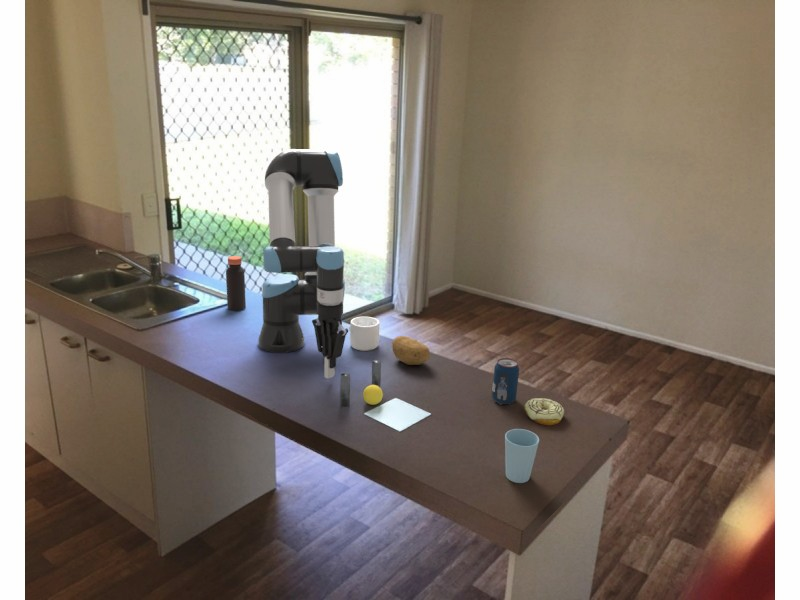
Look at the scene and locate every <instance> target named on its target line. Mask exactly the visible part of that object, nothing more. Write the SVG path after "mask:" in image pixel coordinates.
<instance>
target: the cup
mask: <svg viewBox="0 0 800 600" xmlns="http://www.w3.org/2000/svg"><path fill="white" fill-rule="evenodd" d="M539 444H540V438H539V436H538V435H537V434H536V433H534V432H533V431H531V430H528V429H523V428H513V429H510V430H508V431H506V433H505V434H504V445H505V446H504V447H505V448H504V449H505V453H504V454H505V455H504V456H505V457H504V458H505V459H504V461H505V476H506V478H507V479H508V480H509V481H511V482H513V483H516V484H524V483H526V482H528V481H529V480H530V478H531V473H532V471H533V466H534V462H535V459H536V455H537V450H538V447H539Z"/></svg>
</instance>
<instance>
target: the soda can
mask: <svg viewBox="0 0 800 600" xmlns="http://www.w3.org/2000/svg"><path fill="white" fill-rule="evenodd" d="M519 375H520V367H519V364H518V361H517V360H515V359H513V358H510V357H509V358H508V357H501V358H499V359H497V361H496V364H495V365H494V370H493V377H492V378H493V380H492V390H491V396H492V397H491V398H492V399H493V402H495V403H496V402H497V403H496V404H498V403H500V404H499V405H502V404H509V405H511V403H512V404H513V403H514V402H515V401H516V399H517V394H518V383H519Z"/></svg>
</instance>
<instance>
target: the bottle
mask: <svg viewBox="0 0 800 600" xmlns="http://www.w3.org/2000/svg"><path fill="white" fill-rule="evenodd" d="M227 265H228V267H227V269H226V271H225V277H226V278H225V281H226V284H225V285H226V298H227V299H226V300H227V301H226V303H227V309H228V310H229V311H234V312H236V311H237V312H239V311H243V310H244V309H246V307H247V306H246V305H247V304H246V303H247V302H246V279H245V278H246V277H245V269H244V268H243V267H242V266H241V265H242V257H241V256H239V255H231V256H228V257H227Z"/></svg>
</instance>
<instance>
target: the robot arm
mask: <svg viewBox="0 0 800 600" xmlns="http://www.w3.org/2000/svg"><path fill="white" fill-rule="evenodd" d="M343 183H344V178H343V167H342V162H341V158H340V154H339V153H338V151H335V150H333V149H331V150H330V149H324V148H323V149H321V148H320V149H314V148H313V149H308V148H306V149H302V148H301V149H298V148H297V149H296V148H291V149H290V148H289V149H285V150H284V151H282V152H280V153H279V154H277V155H276V156H275V157H274V158H273V159H272V160H271V161H270V163H269V164H268V166H267V168H266V171H265V174H264V186H265V189H266V190H267V192H268V225H269V235H268V236H269V246H265V247H263V249H262V250H263V251H262V253H263V270H264V272H266V273H276V274H277V275H273V276H271V277H268V278H267V279H266V280H264V282H263V283H262V291H261V292H262V293H261V297H262V321H263V322H262V326H261V330H260V333H259V335H258V341H257V343H258V347H259V349H261V350H262V351H265V352H269V353H276V354H279V353H282V354H283V353H291V352H296V351H297V350H301V348H303V347H304V345H305V336H304V334H303V333H304V332H303V330H302V328H301V325H300V321H299V320H300V316H317V318H315V319H312V321H311V323H312V326H313V327H314V328H313V329H314V333H315V334H314V335H315V340H316V346H317V351H318V353H321V355H322V356H323V358H322V360H323V361H322V363H323V367H324V369H323V370H324V371H323V372H324V375H323V376H324V378H325V379H328V380H329V379H330V378H333V377H335V369H336V367H337V358H339V357H341V356H342V353H343V349H344V345H345V340H346V336H347V334H348V333H349V328H345V327H344V326H343V321H342V316H343V314H344V300H345V299H344V298H345V291H346V290H345V289H346V287H345V286H346V282H345V279H344V274H345V273H344V272H345V271H344V268H345V267H344V265H345V257H344V256H345V255H344V254H345V253H344V250H343V249H342V248H341V247H338V246H336V243H335V242H336V239H335V195H337V193H338V192H339V187H342V186H343ZM296 186H299V187H301V186H302V192H303V193H304V194H305V195H306V196H307V219H308V223H307V224H308V225H307V227H308V245H307V246H300V245H299V246H298V245H297V246H296V230H295V229H296V228H295V212H294V210H295V209H294V208H295V207H294V189H296ZM281 273H282V274H281ZM285 273H286V274H285ZM291 273H304V279H300V278H299V276H298V275H296V274H291Z"/></svg>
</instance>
